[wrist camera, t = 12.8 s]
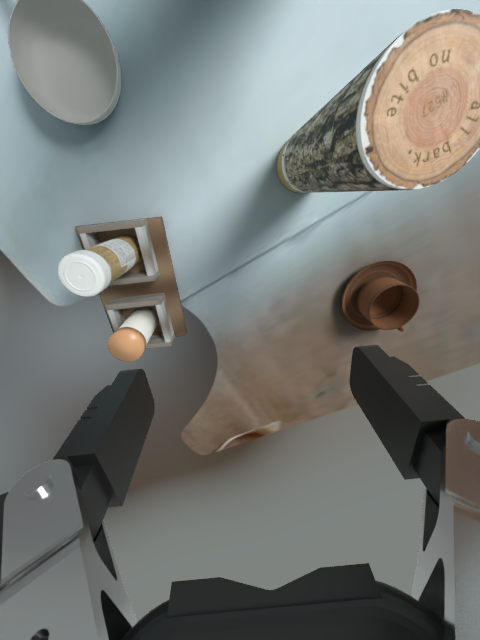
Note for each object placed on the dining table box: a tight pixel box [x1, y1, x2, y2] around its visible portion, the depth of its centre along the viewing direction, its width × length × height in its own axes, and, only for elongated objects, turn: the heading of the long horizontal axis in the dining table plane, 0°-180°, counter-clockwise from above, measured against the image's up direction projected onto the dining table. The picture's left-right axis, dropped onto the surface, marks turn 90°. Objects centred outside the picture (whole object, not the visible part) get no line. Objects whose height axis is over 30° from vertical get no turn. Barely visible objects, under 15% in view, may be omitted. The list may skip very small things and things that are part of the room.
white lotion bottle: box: [108, 306, 159, 362], centre depth 38 cm, size 5×5×9 cm
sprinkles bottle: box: [58, 235, 142, 297], centre depth 32 cm, size 5×5×14 cm
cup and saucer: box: [342, 261, 419, 331], centre depth 41 cm, size 12×12×6 cm
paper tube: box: [277, 9, 480, 193], centre depth 24 cm, size 7×7×25 cm
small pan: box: [8, 0, 122, 125], centre depth 27 cm, size 11×18×4 cm, turn 27°
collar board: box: [75, 217, 187, 349], centre depth 39 cm, size 19×12×4 cm, turn 6°
